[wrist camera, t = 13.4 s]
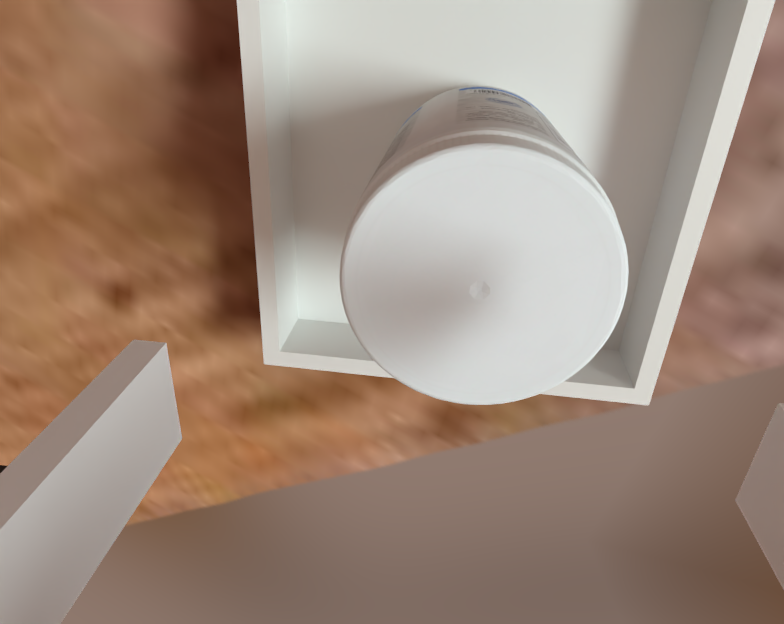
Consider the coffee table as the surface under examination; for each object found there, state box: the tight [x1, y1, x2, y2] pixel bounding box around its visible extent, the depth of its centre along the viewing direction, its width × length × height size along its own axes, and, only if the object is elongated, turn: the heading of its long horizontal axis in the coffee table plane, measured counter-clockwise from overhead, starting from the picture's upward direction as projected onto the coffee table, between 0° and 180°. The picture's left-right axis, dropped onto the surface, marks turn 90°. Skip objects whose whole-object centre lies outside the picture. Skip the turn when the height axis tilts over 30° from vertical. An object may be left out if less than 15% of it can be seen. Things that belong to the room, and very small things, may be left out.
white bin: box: [237, 0, 775, 405], centre depth 30 cm, size 22×22×5 cm
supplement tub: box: [339, 86, 629, 405], centre depth 25 cm, size 10×10×15 cm
